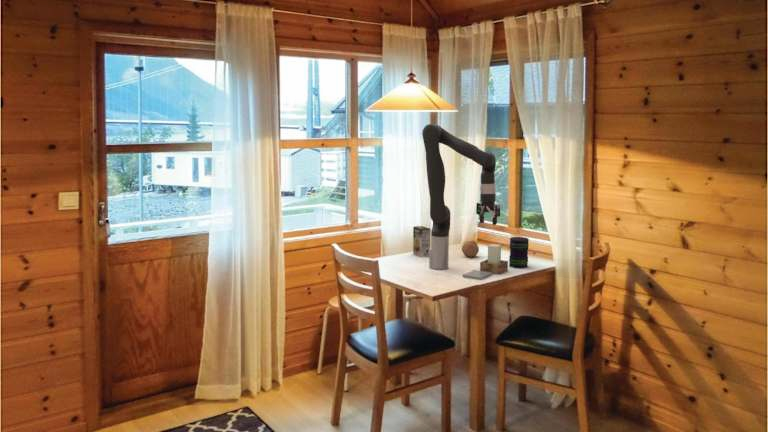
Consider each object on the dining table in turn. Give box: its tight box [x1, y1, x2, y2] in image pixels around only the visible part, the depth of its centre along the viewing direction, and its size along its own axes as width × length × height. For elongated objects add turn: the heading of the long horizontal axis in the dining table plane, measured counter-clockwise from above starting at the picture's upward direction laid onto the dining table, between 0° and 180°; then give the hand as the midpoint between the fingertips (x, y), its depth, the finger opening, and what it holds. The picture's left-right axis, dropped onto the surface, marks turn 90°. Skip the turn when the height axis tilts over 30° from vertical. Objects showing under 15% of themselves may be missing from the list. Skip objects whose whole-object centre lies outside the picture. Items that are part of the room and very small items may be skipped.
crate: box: [479, 258, 509, 275], centre depth 340 cm, size 11×11×5 cm
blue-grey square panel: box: [462, 269, 493, 281], centre depth 331 cm, size 10×12×1 cm
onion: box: [461, 240, 480, 258], centre depth 375 cm, size 10×9×10 cm
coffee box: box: [412, 225, 431, 258], centre depth 378 cm, size 9×6×16 cm
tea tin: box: [487, 243, 502, 264], centre depth 340 cm, size 5×5×14 cm
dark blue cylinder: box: [508, 236, 530, 269], centre depth 351 cm, size 10×10×15 cm
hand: (488, 223), depth 336 cm, fingers open, 8 cm apart
